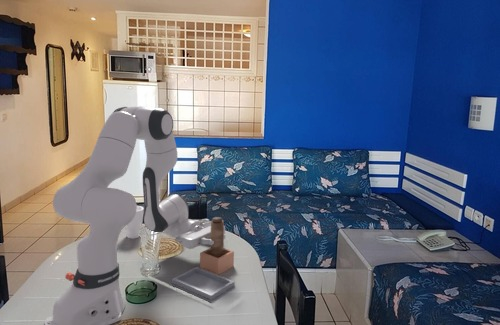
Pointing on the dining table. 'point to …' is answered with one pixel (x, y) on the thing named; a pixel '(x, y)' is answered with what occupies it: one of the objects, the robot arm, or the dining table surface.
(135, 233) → the foam cup
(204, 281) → the tray
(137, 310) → the dining table surface
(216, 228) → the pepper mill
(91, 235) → the robot arm
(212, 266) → the orange open box
